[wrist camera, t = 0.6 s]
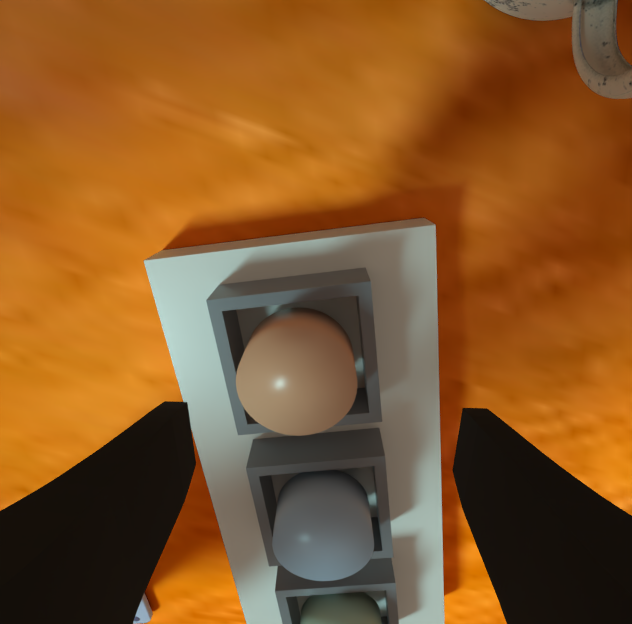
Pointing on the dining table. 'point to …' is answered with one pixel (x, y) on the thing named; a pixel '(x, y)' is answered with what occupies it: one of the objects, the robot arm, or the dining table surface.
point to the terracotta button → (297, 372)
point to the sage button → (340, 609)
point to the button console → (339, 440)
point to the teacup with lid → (584, 39)
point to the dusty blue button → (323, 526)
